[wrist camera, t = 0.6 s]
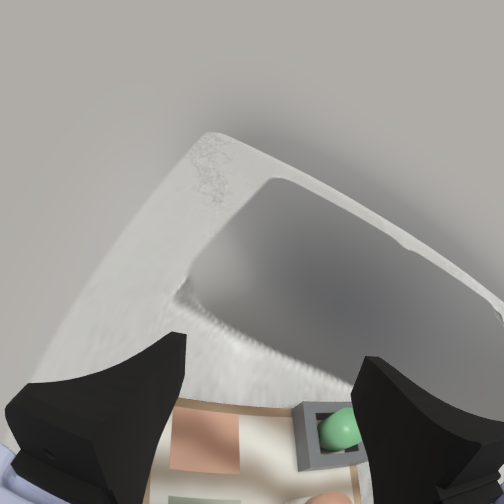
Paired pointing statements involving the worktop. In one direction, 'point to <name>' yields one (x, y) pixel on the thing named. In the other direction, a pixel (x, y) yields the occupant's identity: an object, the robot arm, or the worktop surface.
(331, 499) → the marker
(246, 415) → the board
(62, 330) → the worktop surface
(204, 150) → the worktop surface
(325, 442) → the button
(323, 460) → the button housing
